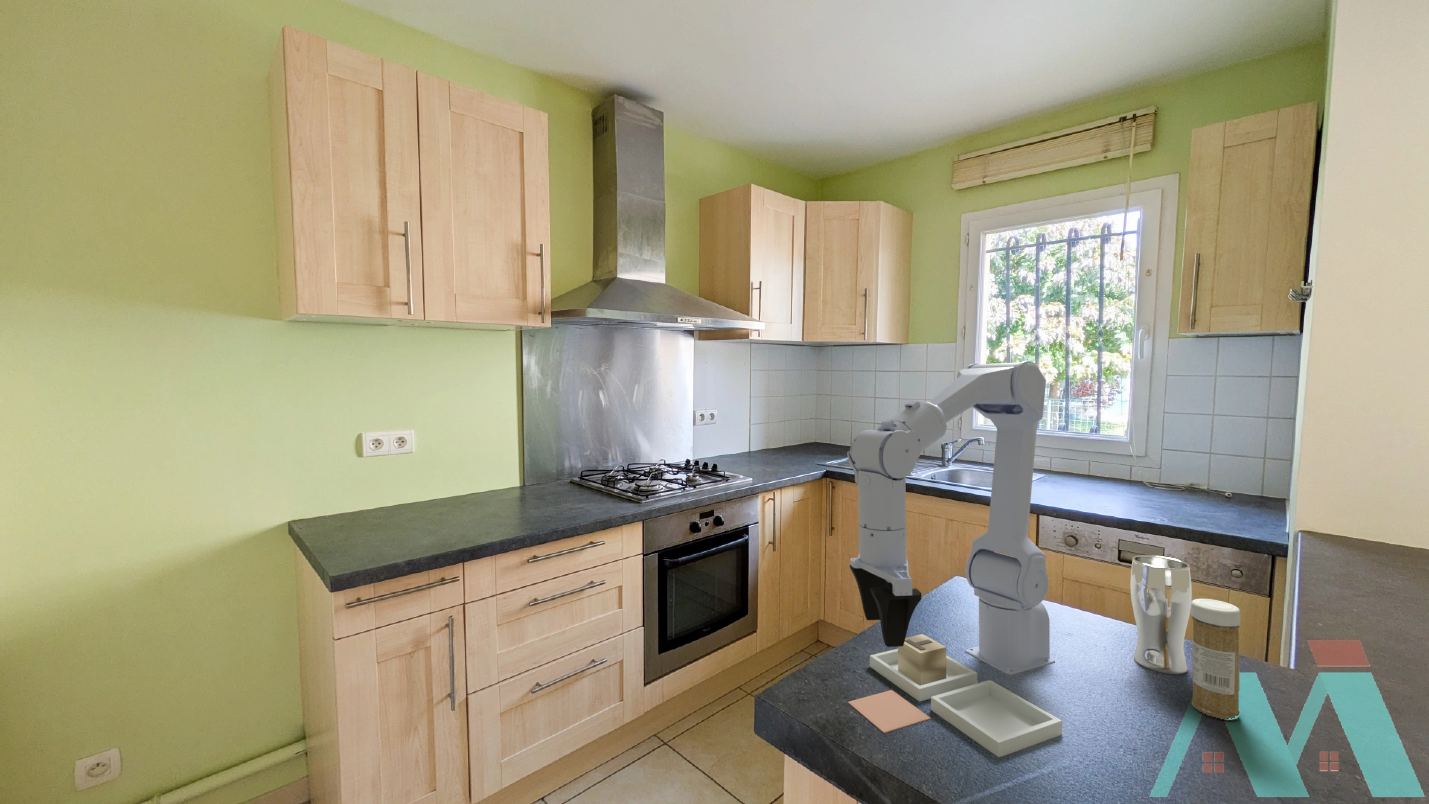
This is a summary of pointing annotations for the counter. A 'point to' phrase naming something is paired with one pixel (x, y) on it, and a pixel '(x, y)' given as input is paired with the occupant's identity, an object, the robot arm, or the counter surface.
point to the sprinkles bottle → (1215, 658)
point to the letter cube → (922, 659)
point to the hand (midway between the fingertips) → (883, 631)
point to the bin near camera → (996, 717)
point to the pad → (888, 711)
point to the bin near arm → (954, 680)
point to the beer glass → (1161, 611)
